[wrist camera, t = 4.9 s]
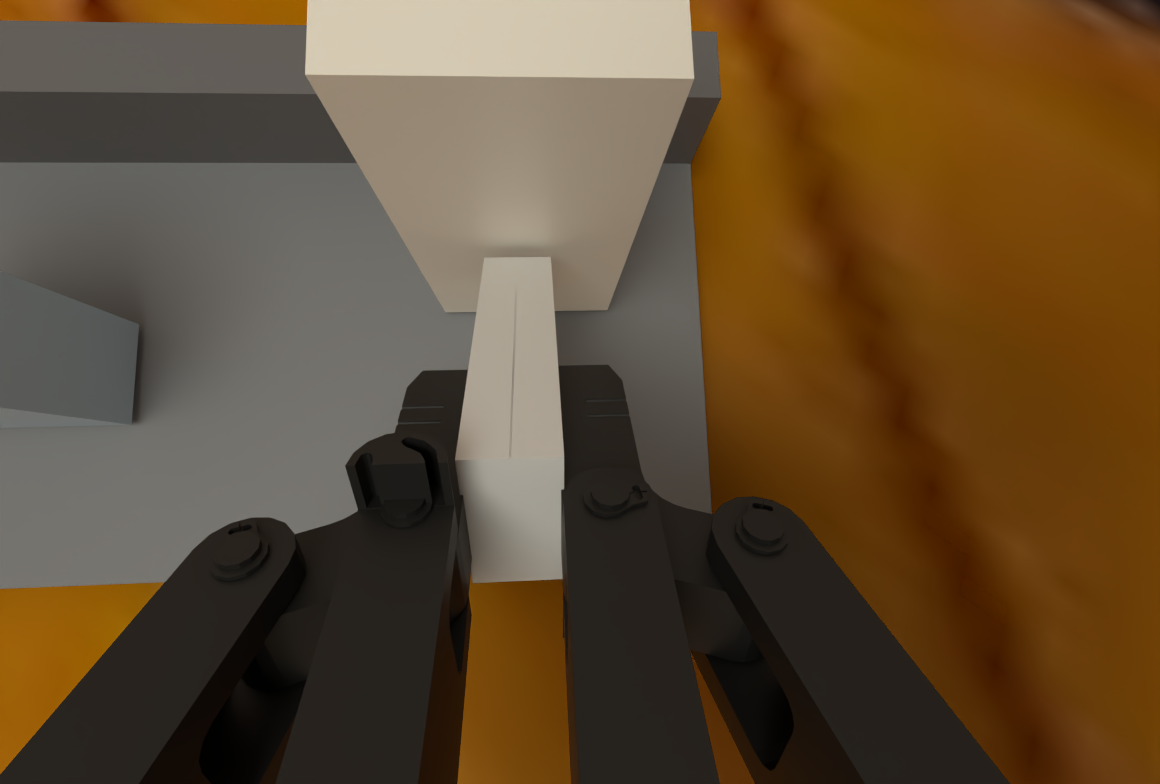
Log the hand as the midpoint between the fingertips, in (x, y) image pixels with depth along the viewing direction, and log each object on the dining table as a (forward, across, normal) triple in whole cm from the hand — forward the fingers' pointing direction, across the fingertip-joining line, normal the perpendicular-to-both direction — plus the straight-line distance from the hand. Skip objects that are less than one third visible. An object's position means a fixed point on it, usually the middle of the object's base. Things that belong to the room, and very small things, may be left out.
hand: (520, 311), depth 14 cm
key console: (+6, -7, -3) cm, 9 cm away
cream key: (+5, 0, -1) cm, 5 cm away
